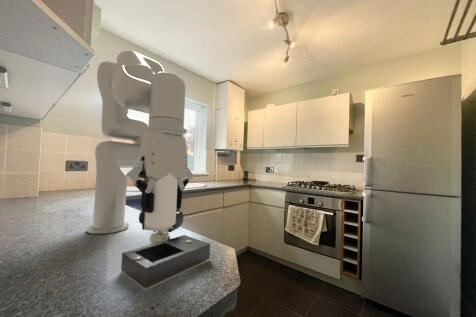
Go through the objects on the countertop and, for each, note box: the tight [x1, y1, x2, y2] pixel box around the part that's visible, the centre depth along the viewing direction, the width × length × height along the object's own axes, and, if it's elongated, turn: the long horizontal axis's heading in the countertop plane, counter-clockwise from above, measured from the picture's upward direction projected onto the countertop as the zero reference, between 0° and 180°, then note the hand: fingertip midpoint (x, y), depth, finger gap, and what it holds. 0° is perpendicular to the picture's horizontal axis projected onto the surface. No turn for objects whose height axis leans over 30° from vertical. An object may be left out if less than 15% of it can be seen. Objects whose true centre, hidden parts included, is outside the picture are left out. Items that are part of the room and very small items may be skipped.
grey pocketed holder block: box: [120, 234, 211, 292], centre depth 44 cm, size 10×16×4 cm, turn 143°
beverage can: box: [146, 173, 178, 231], centre depth 43 cm, size 6×6×12 cm
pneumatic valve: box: [138, 208, 184, 245], centre depth 57 cm, size 6×12×12 cm, turn 78°
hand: (162, 209), depth 43 cm, fingers closed on beverage can, 6 cm apart
